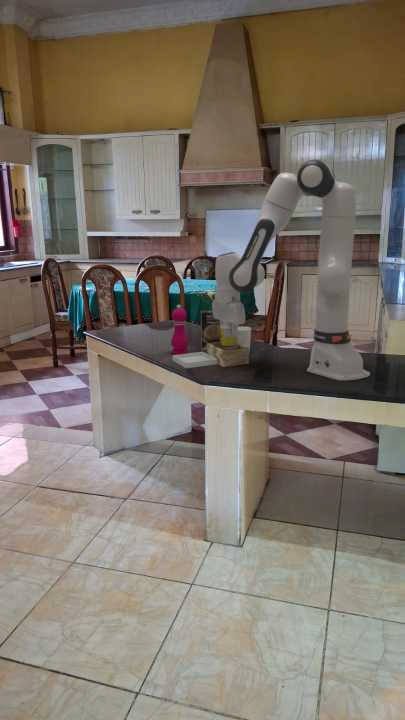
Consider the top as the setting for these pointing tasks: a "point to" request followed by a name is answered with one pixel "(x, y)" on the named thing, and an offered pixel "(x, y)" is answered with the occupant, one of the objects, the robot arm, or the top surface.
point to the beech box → (228, 354)
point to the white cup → (244, 336)
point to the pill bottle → (228, 336)
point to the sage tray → (194, 360)
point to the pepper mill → (179, 332)
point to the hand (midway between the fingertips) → (229, 333)
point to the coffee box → (209, 329)
